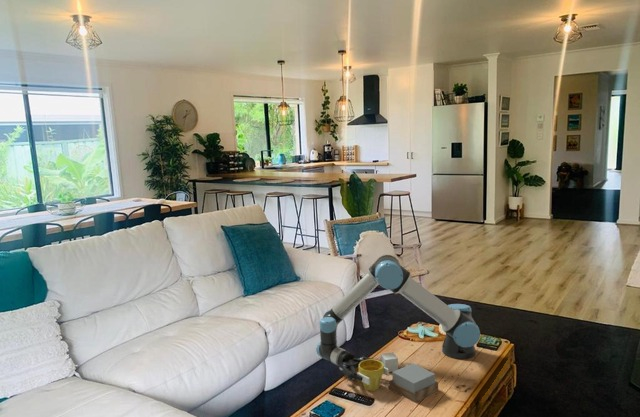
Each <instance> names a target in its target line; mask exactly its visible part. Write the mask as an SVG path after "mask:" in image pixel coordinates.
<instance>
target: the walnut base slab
mask: <svg viewBox="0 0 640 417" xmlns="http://www.w3.org/2000/svg"><path fill="white" fill-rule="evenodd" d="M388 389H389V390H390V391H392V392H393V393H396V394H398V395H400V396H401V397H404V398H406V399H408V400H409V401H411V402H413V403H415V404H417V403H418V402H420V401H421V400H423V399H425V398H427V397H429V396H430V395H432V394H434V393H436V392H438V391H439V382H438V381H436V380H435V384H433V385H430V386H428V387H426V388H424V389H422V390H420V391H418V392H416V393H413V392H411V391H409V390H407V389H406V388H404V387H402V386H400V385H398V384H397V383H395V382H393V378H392V379H390V380H388Z"/></svg>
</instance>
